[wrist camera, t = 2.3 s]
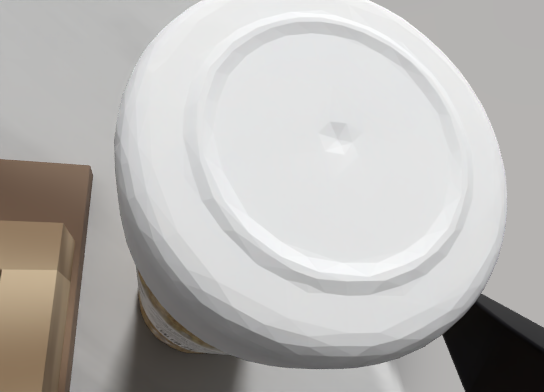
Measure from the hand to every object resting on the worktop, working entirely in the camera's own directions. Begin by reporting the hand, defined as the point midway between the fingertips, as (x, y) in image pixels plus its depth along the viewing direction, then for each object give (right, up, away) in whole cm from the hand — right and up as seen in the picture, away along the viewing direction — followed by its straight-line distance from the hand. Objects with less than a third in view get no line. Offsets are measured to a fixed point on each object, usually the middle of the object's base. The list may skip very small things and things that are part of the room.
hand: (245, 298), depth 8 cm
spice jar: (-2, -2, +9) cm, 9 cm away
